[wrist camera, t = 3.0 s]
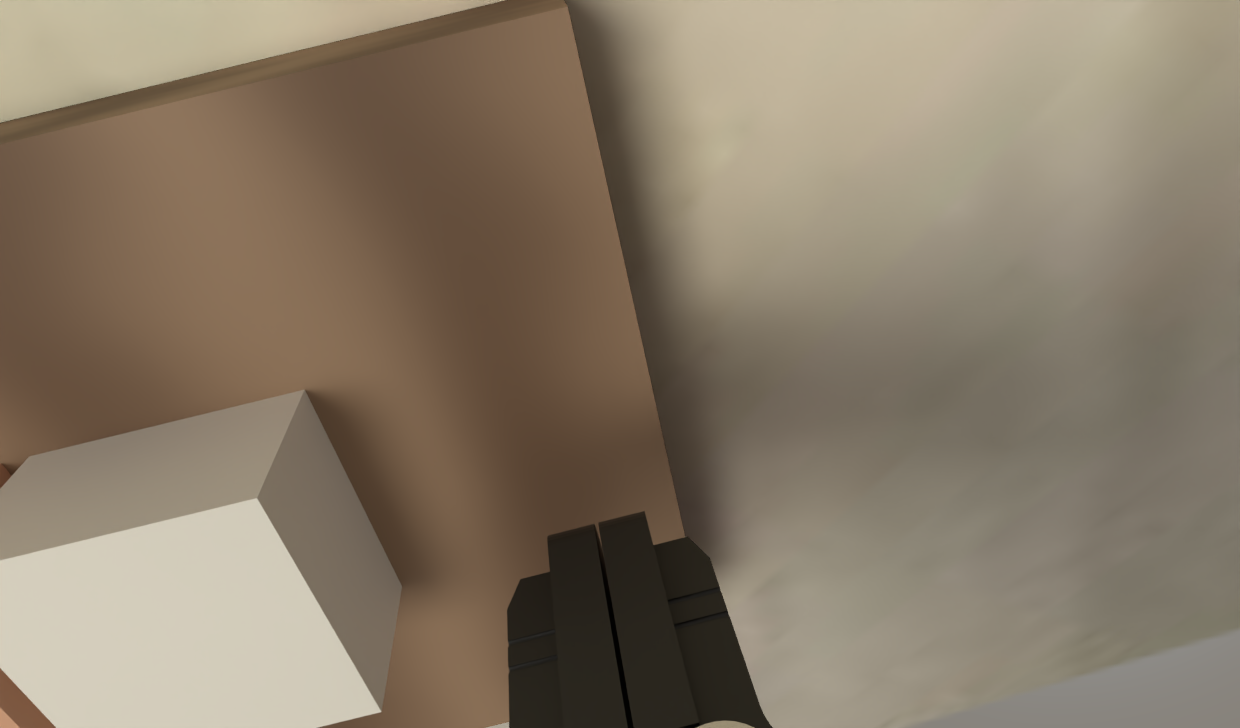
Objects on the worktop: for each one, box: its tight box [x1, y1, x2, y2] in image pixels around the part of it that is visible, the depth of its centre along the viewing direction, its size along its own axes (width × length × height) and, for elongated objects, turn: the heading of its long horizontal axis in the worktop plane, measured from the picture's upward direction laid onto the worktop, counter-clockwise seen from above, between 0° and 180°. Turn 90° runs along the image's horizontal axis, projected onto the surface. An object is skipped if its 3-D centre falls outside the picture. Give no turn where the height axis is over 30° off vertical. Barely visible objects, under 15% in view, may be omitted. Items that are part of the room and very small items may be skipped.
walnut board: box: [0, 0, 685, 728], centre depth 17 cm, size 18×15×4 cm
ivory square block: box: [0, 390, 402, 728], centre depth 14 cm, size 5×5×3 cm
